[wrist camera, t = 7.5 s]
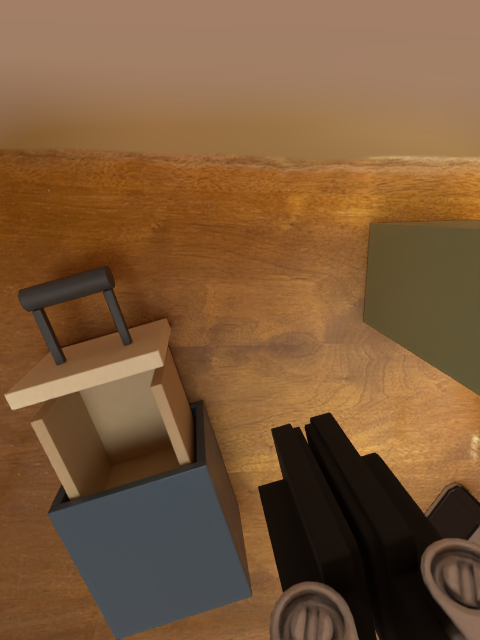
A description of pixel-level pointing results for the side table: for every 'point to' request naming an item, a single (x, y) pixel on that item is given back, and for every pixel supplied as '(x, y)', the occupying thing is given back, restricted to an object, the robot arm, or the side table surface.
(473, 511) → the camera
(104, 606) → the cabinet
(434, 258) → the stand
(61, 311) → the side table surface
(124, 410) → the drawer
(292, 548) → the robot arm
